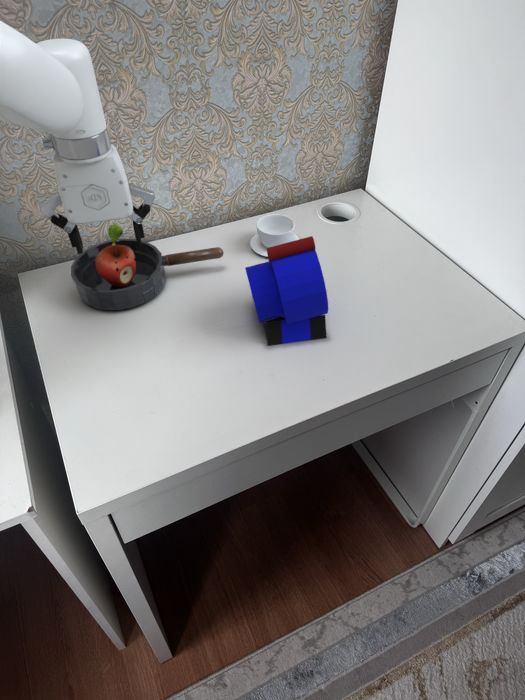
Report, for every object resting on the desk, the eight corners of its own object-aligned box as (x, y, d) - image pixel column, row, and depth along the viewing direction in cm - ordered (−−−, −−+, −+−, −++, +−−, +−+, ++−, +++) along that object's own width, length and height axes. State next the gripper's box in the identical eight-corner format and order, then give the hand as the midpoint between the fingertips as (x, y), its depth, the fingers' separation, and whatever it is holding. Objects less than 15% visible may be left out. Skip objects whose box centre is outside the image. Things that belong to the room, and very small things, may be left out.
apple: (143, 290, 85) (131, 242, 77) (103, 298, 83) (88, 250, 76) (137, 266, 90) (125, 218, 82) (99, 273, 88) (84, 225, 81)
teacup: (309, 251, 93) (311, 230, 90) (263, 264, 90) (263, 243, 87) (285, 226, 100) (286, 205, 96) (242, 238, 97) (241, 217, 93)
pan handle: (160, 269, 86) (158, 260, 84) (159, 263, 87) (157, 253, 85) (224, 259, 87) (223, 250, 86) (222, 253, 89) (221, 244, 87)
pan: (77, 319, 80) (69, 299, 77) (79, 265, 91) (71, 245, 88) (170, 304, 83) (166, 283, 80) (161, 253, 93) (157, 233, 90)
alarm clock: (330, 337, 77) (340, 259, 66) (254, 347, 75) (252, 270, 65) (311, 289, 85) (317, 214, 74) (243, 298, 84) (239, 222, 73)
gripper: (15, 160, 64) (55, 265, 77) (146, 146, 67) (164, 250, 79) (21, 138, 69) (57, 240, 82) (142, 127, 72) (159, 227, 85)
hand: (110, 245), depth 81 cm, fingers open, 9 cm apart
